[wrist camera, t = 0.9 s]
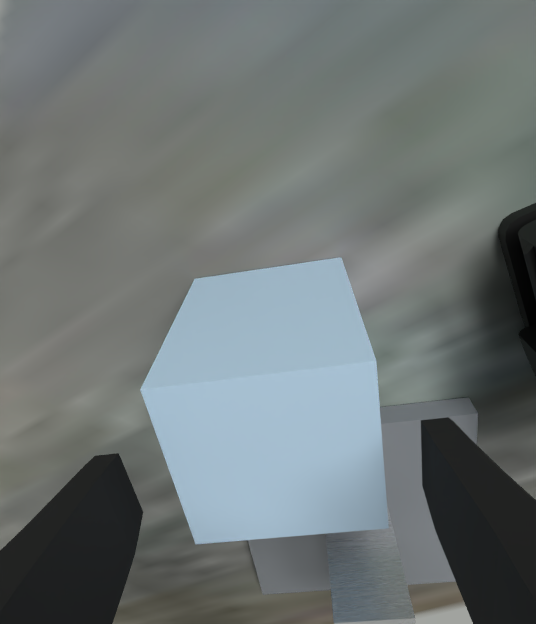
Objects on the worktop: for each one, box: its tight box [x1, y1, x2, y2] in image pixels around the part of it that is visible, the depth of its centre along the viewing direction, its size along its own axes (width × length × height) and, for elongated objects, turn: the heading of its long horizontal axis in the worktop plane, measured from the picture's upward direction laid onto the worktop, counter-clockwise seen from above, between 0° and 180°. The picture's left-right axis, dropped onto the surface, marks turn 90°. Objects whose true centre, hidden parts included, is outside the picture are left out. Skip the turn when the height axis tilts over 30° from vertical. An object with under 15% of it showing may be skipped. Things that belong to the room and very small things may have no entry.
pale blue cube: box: [140, 257, 389, 544], centre depth 14 cm, size 5×5×7 cm
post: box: [326, 506, 415, 624], centre depth 17 cm, size 3×3×5 cm
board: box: [248, 397, 478, 595], centre depth 20 cm, size 10×10×1 cm
